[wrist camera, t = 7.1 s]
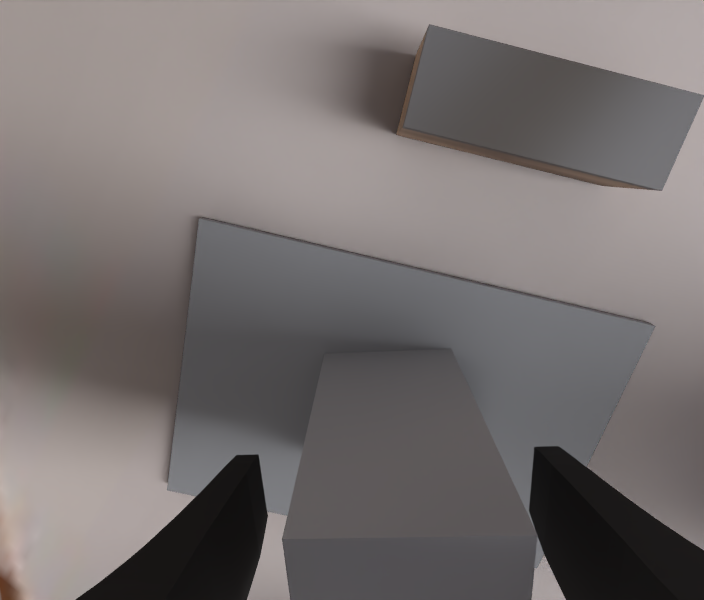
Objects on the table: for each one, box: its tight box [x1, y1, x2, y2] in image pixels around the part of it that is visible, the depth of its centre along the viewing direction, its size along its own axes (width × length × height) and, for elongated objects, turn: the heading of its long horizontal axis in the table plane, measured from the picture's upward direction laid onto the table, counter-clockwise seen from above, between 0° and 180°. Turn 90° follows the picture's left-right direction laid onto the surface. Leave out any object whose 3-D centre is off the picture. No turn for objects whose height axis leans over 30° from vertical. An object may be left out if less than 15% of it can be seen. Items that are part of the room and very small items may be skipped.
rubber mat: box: [167, 217, 655, 568], centre depth 14 cm, size 14×10×1 cm
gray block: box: [282, 349, 538, 600], centre depth 11 cm, size 4×4×7 cm
